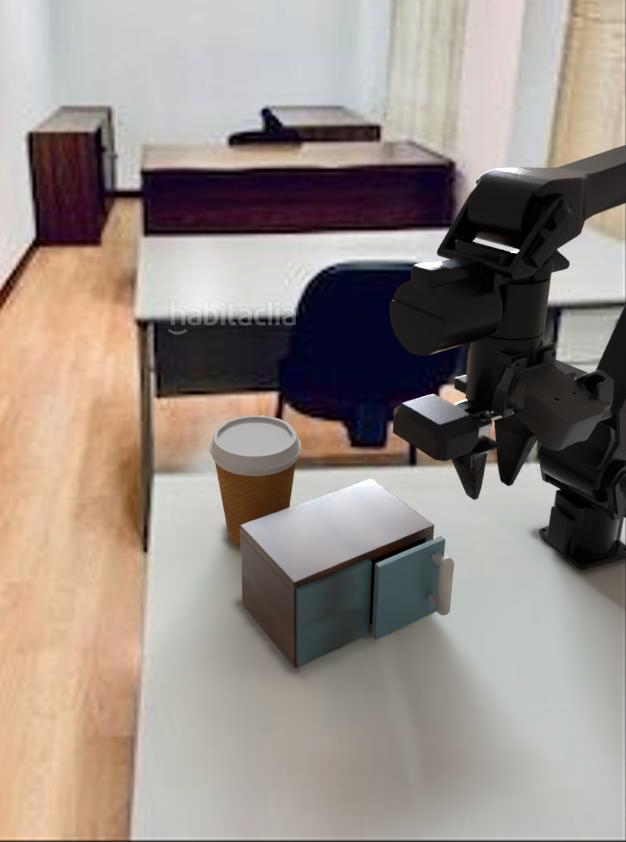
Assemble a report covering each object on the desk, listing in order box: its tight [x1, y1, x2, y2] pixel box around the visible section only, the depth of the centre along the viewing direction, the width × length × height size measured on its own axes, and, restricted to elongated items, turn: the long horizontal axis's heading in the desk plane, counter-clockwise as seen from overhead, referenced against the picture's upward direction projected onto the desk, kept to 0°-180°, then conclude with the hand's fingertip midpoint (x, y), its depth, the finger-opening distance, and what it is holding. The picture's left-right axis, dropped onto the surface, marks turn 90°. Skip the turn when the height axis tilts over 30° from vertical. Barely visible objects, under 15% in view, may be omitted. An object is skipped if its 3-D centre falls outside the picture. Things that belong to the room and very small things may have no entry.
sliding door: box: [371, 535, 455, 641], centre depth 66 cm, size 7×3×8 cm, turn 119°
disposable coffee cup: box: [208, 414, 302, 548], centre depth 80 cm, size 10×10×12 cm
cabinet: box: [240, 478, 435, 669], centre depth 70 cm, size 15×10×9 cm, turn 119°
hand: (489, 490), depth 68 cm, fingers open, 4 cm apart
